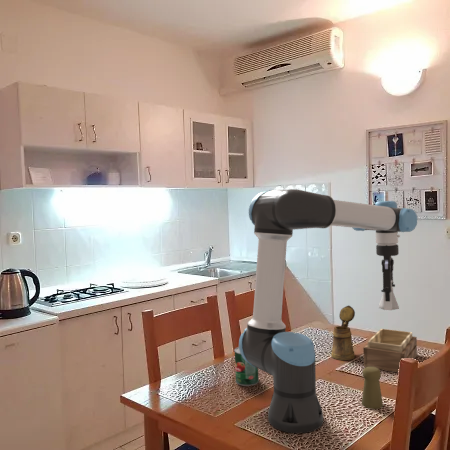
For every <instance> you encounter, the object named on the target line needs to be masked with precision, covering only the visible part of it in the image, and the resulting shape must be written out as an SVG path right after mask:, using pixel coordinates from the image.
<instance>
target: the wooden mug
mask: <svg viewBox="0 0 450 450" xmlns="http://www.w3.org/2000/svg"><path fill="white" fill-rule="evenodd" d="M355 314H356V312H355V309H354V307H352V306H351V305H346V306H344V307H342V308H341V309H340V311H339V319H340V320H341V325H337V326H334V327H333V331H332V336H333V337H332V347H331V354H330V355H331V356H330V357H331V358H333V359H335V360H339V361H349V360H354V359H355V358H356V357H355V356H356V355H355V351H354V346H353V340H352V339H353V338H352V330H351V328H350V327H349V323H350V322H351V321H353V320H354V318H355V316H356V315H355Z"/></svg>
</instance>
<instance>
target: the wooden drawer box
mask: <svg viewBox="0 0 450 450" xmlns="http://www.w3.org/2000/svg"><path fill="white" fill-rule="evenodd" d="M417 339H418V338H417V336H414V335H412V340H411V341H410V343H409V344H408V345H407V347H406V348H405V349H404V351H403V352H396V351H389V350H382V349H375V348H368V343H367V344H365V346H363V348H362V349H363V367H364V368H366V367H376V368H378V369H379V370H380V371H385V372H387V371H388V372H392V371H393V373H398V369H399V362H400V359H401V358H414V359H416V357H417V353H418V350H417V348H418V346H417V345H418V343H417ZM415 356H416V357H415Z"/></svg>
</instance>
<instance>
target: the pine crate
mask: <svg viewBox="0 0 450 450" xmlns="http://www.w3.org/2000/svg"><path fill="white" fill-rule="evenodd" d="M412 336H413V332H412V331H406V330H396V329H387V328H380V329H379V330H378V331H377V332H376V333H375V334H373V336H372V337H371V338H369V340H367V344H368V348H375V349H382V350H389V351H396V352H403V351H404V349H405V348H406V347H407V345H408V344H409V343H410V341H411V340H412Z"/></svg>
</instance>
